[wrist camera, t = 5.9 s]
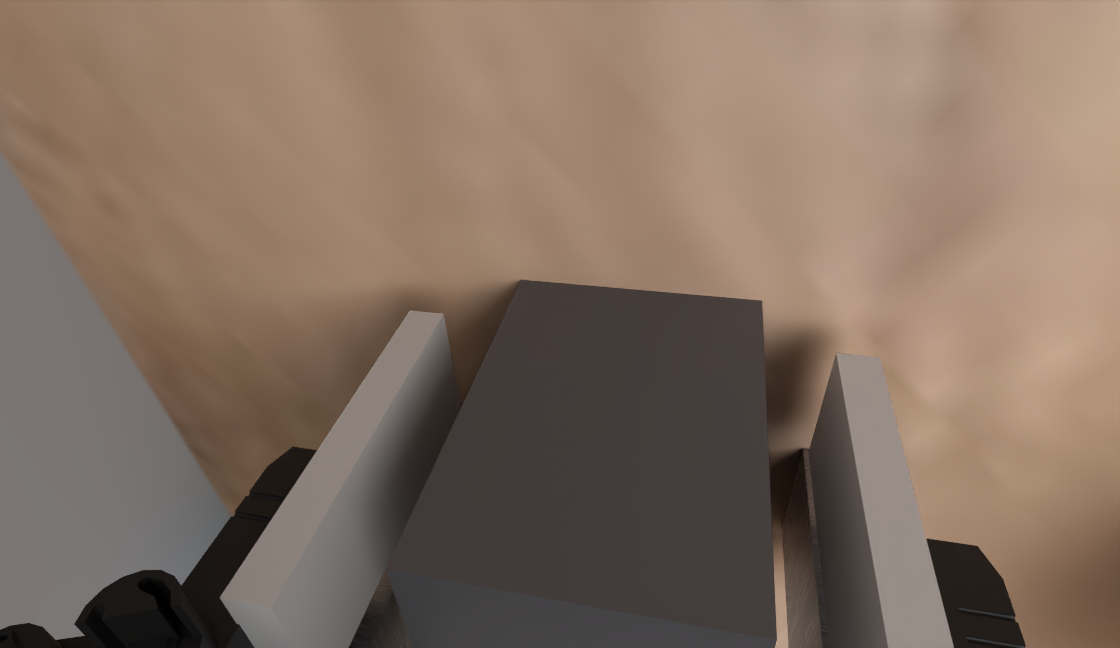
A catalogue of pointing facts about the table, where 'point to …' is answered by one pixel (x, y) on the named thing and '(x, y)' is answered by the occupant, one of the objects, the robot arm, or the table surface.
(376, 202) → the table surface
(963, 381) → the table surface
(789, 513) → the frame
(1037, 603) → the table surface
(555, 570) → the plug
